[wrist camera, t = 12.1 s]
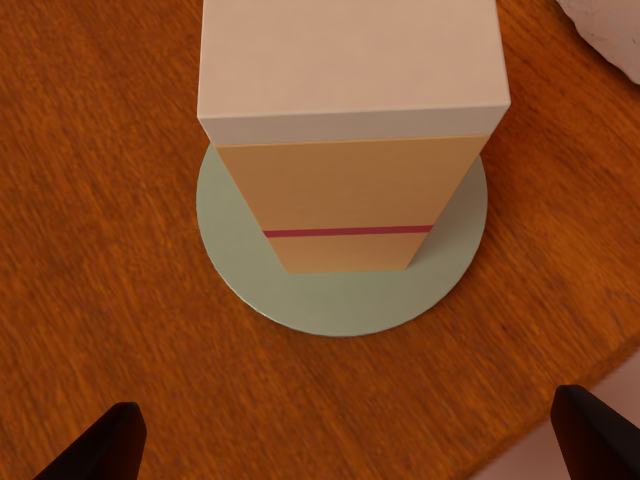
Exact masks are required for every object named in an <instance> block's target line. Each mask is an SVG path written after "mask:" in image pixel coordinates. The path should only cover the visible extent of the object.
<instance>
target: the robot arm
mask: <svg viewBox="0 0 640 480" xmlns="http://www.w3.org/2000/svg"><path fill="white" fill-rule="evenodd" d="M550 417H551V423H552V425H553V429H554V432H555V434H556V437H557V440H558V443H559V446H560V449H561V452H562V455H563V458H564V461H565V463H566V466H567V469H568V472H569V475H570V478H571V480H640V429H639V428H637V427H636V426H635V425H633V424H632V423H631V422H629V421H628V420H627V419H625V418H624V417H623V416H621V415H620V414H619V413H617V412H616V411H615V410H613V409H612V408H610V407H609V406H608V405H606V404H605V403H604V402H602V401H601V400H600V399H598V398H597V397H596V396H594V395H593V394H592V393H590V392H589V391H587V390H586V389H585V388H583V387H582V386H580V385H560V386H558V387H557V389H556V392H555V396H554V400H553V404H552V407H551V412H550ZM146 435H147V429H146V425H145V422H144V419H143V416H142V413H141V411H140V408H139V406H138V404H137V403H136V402H119V403H116V404H115V405H113V406H112V407H111V408H110V409H109V410H108V411H107V412H106V413H105V414H104V415H103V416H101V417H100V418H99V419H98V420H97V421H96V422H95V423H94V424H93V425H92V426H91V427H89V428H88V429H87V430H86V431H85V432H84V433H83V434H82V435H81V436H80V437H79V438H78V439H76V440H75V441H74V442H73V443H72V444H71V445H70V446H69V447H68V448H67V449H66V450H64V451H63V452H62V453H61V454H60V455H59V456H58V457H57V458H56V459H55V460H54V461H52V462H51V463H50V464H49V465H48V466H47V467H46V468H45V469H44V470H43V471H42V472H40V473H39V474H38V475H37V476H36V477H35V478H34V479H33V480H137V476H138V472H139V468H140V463H141V459H142V454H143V450H144V445H145V441H146Z"/></svg>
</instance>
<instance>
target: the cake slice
mask: <svg viewBox="0 0 640 480" xmlns="http://www.w3.org/2000/svg"><path fill="white" fill-rule="evenodd" d="M510 105H511V98H510V92H509V85H508V79H507V72H506V65H505V59H504V52H503V46H502V39H501V33H500V26H499V20H498V13H497V6H496V0H204V5H203V22H202V39H201V56H200V73H199V90H198V107H197V118H198V120H199V122H200V123H201V125H202V127H203V128H204V130H205V132H206V134H207V135H208V137H209V139H210V141H211V142H212V144H213V145H214V148H215V150H216V151H217V153H218V155H219V157H220V158H221V160H222V162H223V163H224V165H225V167H226V169H227V170H228V172H229V174H230V176H231V177H232V179H233V181H234V182H235V184H236V186H237V188H238V189H239V191H240V193H241V195H242V196H243V198H244V200H245V201H246V203H247V205H248V207H249V208H250V210H251V212H252V214H253V215H254V217H255V219H256V220H257V222H258V224H259V226H260V227H261V229H262V232H263V233H264V235H265V237H266V238H267V239H268V241H269V243H270V245H271V246H272V248H273V250H274V252H275V253H276V255H277V257H278V258H279V260H280V262H281V264H282V265H283V267H284V269H285V271H286V272H287V273H288V274H295V273H328V272H362V271H396V270H405V269H406V267H407V266H408V264H409V263H410V261H411V259H412V258H413V256H414V255H415V253H416V252H417V250H418V249H419V247H420V245H421V244H422V242H423V241H424V239H425V238H426V236H427V235H428V233H429V232H430V231H431V229H432V228H433V226H434V224H435V222H436V221H437V219H438V217H439V216H440V214H441V213H442V211H443V210H444V208H445V207H446V205H447V203H448V202H449V200H450V199H451V197H452V196H453V194H454V193H455V191H456V189H457V188H458V186H459V185H460V183H461V182H462V180H463V179H464V177H465V176H466V174H467V172H468V171H469V169H470V168H471V166H472V165H473V163H474V162H475V160H476V158H477V157H478V155H479V154H480V152H481V151H482V149H483V148H484V146H485V144H486V143H487V141H488V140H489V138H490V137H491V133H493V132H494V130H495V128H496V127H497V125H498V124H499V122H500V121H501V119H502V118H503V116H504V114H505V113H506V111H507V110H508V108H509V107H510Z"/></svg>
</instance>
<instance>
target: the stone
mask: <svg viewBox="0 0 640 480" xmlns="http://www.w3.org/2000/svg"><path fill="white" fill-rule="evenodd" d="M557 2H558V3H559V4H560V6H561V7H562V9H563V11H564V12H565V14H566V15H567V16H568V17H569V18H570V19H571V20H572V21H573V22H574V23H575V27H576V30H577V31H578V33H579V34H580V36H581V37H582V38H584V39H585V40H586V41H587V42H588V43H589V44H590V45H591V46H592V47H593V48H594V49H596V50H597V51H598V52H599V53H600V54H601V55H602V56H603V57H604V59H605V60H606V61H608V62H610V63H612V64H613V65H615V66H616V67H618V68H620V69H621V70H622V71H623V72H624V73H625V74H626V75H627V76H628V78H629V79H630V80H631V81H632V82H634V83H636V84H639V85H640V0H557Z"/></svg>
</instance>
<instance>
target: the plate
mask: <svg viewBox="0 0 640 480" xmlns="http://www.w3.org/2000/svg"><path fill="white" fill-rule="evenodd" d="M487 197H488V192H487V184H486V176H485V172H484V168H483V164H482V161H481V157H480V155H478V157H477V158H476V160H475V162H474V163H473V165H472V166H471V168H470V169H469V171H468V172H467V174H466V176H465V177H464V179H463V180H462V182H461V183H460V185H459V186H458V188H457V189H456V191H455V193H454V194H453V196H452V197H451V199H450V200H449V202H448V203H447V205H446V207H445V208H444V210H443V211H442V213H441V214H440V216H439V217H438V219H437V221H436V222H435V224H434V226H433V228H432V229H431V231H430V232H429V233H428V235H427V236H426V238H425V239H424V241H423V242H422V244H421V245H420V247H419V249H418V250H417V252H416V253H415V255H414V256H413V258H412V259H411V261H410V263H409V264H408V266H407V267H406V269H405V270H396V271H362V272H328V273H295V274H288V273H287V272H286V271H285V269H284V267H283V265H282V264H281V262H280V260H279V258H278V257H277V255H276V253H275V252H274V250H273V248H272V246H271V245H270V243H269V241H268V239H267V238H266V237H265V235H264V233H263V232H262V229H261V227H260V226H259V224H258V222H257V220H256V219H255V217H254V215H253V214H252V212H251V210H250V208H249V207H248V205H247V203H246V201H245V200H244V198H243V196H242V195H241V193H240V191H239V189H238V188H237V186H236V184H235V182H234V181H233V179H232V177H231V176H230V174H229V172H228V170H227V169H226V167H225V165H224V163H223V162H222V160H221V158H220V157H219V155H218V153H217V151H216V150H215V148H214V145H213V144H212V142H211V143H210V145H209V147H208V149H207V151H206V153H205V156H204V159H203V162H202V165H201V168H200V173H199V178H198V183H197V197H196V206H197V219H198V224H199V229H200V233H201V237H202V240H203V243H204V245H205V248H206V251H207V253H208V256H209V257H210V259H211V261H212V263H213V265H214V267H215V268H216V270H217V272H218V273H219V274H220V276H221V277H222V278H223V280H224V281H225V282H226V284H227V285H228V286H229V287H230V288H231V289H232V290H233V291H234V292H235V293H236V295H237V296H238V297H239V298H240V299H241V300H243V301H244V302H245V303H247V304H248V305H249V306H251V307H252V308H253V309H254V310H256V311H257V312H258V313H260V314H262V315H263V316H265V317H267V318H269V319H270V320H272V321H274V322H276V323H278V324H280V325H282V326H285V327H287V328H290V329H293V330H295V331H299V332H303V333H307V334H311V335H315V336H323V337H332V338H347V337H360V336H366V335H372V334H377V333H380V332H383V331H387V330H390V329H393V328H396V327H398V326H400V325H402V324H404V323H407V322H409V321H411V320H413V319H414V318H416V317H417V316H419V315H421V314H422V313H424V312H425V311H427V310H428V309H430V308H431V307H433V306H434V305H435V304H436V303H437V302H438V301H440V300H441V299H442V298H443V297H444V296H446V295H447V294H448V293H449V291H450V290H451V289H452V288H453V287H454V286H455V285H456V284H457V283H458V281H459V280H460V279H461V277H462V276H463V274H464V273H465V271H466V270H467V268H468V267H469V265H470V264H471V262H472V260H473V258H474V256H475V254H476V251H477V249H478V247H479V244H480V241H481V238H482V235H483V232H484V228H485V222H486V216H487Z"/></svg>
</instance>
